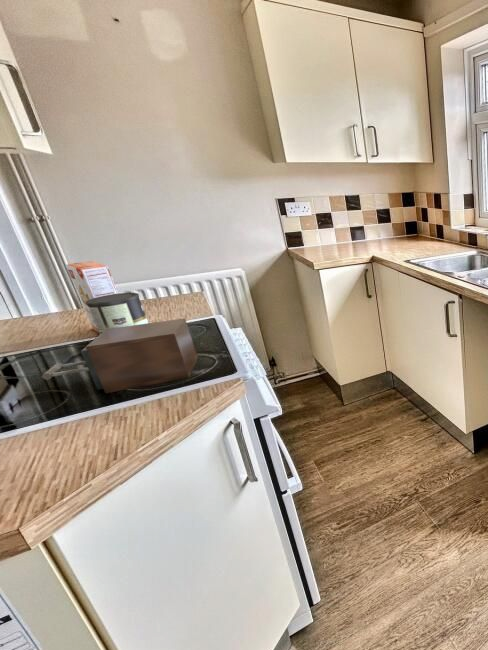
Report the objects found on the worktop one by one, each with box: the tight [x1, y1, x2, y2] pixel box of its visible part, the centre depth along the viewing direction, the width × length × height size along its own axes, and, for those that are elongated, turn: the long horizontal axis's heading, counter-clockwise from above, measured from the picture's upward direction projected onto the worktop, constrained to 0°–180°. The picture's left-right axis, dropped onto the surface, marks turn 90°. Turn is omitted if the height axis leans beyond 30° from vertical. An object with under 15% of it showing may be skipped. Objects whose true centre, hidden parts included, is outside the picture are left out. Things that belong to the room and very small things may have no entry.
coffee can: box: [86, 292, 149, 335], centre depth 111 cm, size 10×10×14 cm
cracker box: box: [65, 260, 119, 336], centre depth 120 cm, size 14×6×21 cm, turn 56°
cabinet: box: [85, 318, 199, 394], centre depth 95 cm, size 15×13×11 cm
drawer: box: [41, 346, 104, 390], centre depth 92 cm, size 22×11×9 cm, turn 118°
